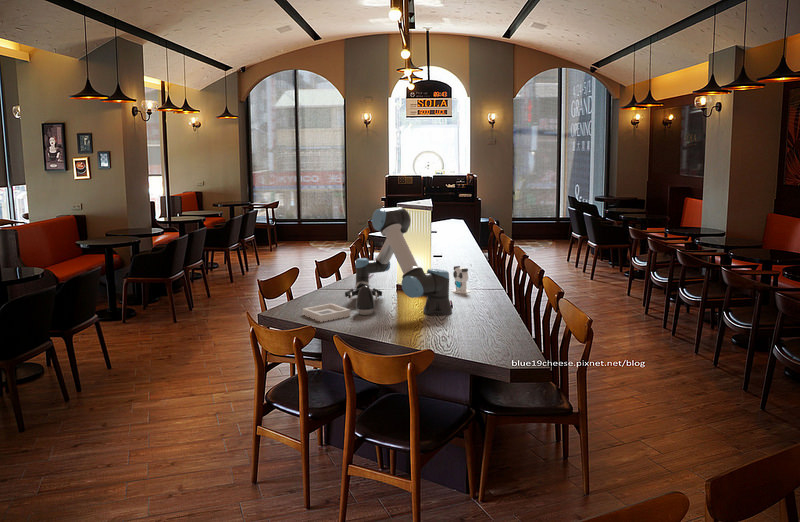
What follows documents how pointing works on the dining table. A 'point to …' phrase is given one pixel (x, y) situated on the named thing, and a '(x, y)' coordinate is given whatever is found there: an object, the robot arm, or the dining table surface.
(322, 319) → the tray
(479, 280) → the dining table surface
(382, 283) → the dining table surface
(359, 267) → the robot arm
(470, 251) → the dining table surface
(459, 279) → the panda figurine
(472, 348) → the dining table surface
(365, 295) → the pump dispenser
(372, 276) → the water lily
